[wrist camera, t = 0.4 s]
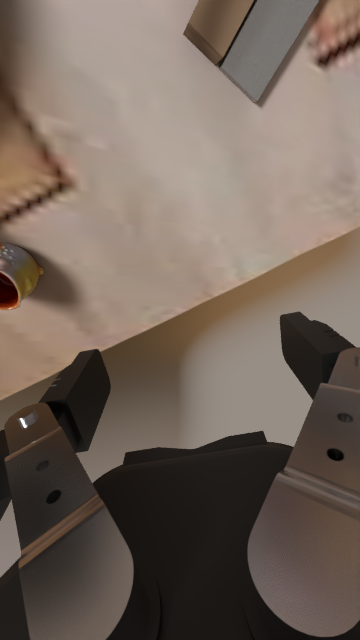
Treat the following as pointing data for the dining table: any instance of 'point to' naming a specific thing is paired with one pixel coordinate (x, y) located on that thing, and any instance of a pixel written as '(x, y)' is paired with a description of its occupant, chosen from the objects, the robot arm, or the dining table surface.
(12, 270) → the mug
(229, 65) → the hole plate
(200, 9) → the rail
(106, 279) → the dining table surface
